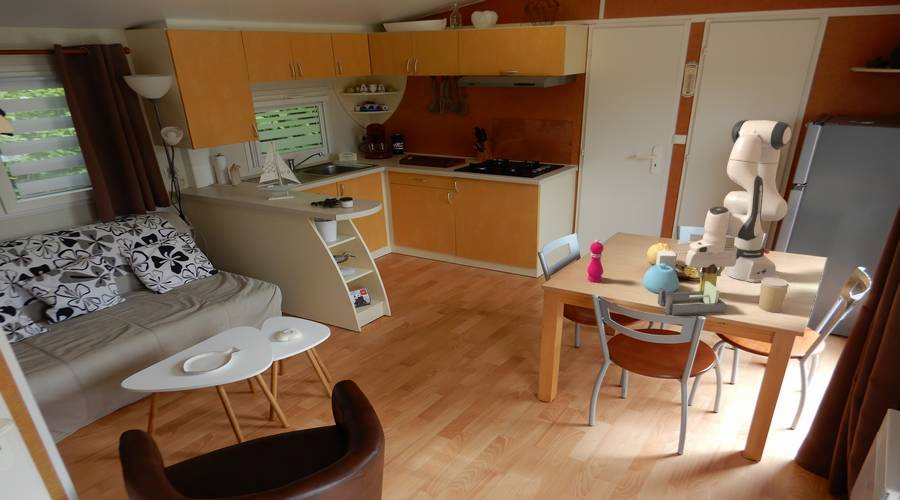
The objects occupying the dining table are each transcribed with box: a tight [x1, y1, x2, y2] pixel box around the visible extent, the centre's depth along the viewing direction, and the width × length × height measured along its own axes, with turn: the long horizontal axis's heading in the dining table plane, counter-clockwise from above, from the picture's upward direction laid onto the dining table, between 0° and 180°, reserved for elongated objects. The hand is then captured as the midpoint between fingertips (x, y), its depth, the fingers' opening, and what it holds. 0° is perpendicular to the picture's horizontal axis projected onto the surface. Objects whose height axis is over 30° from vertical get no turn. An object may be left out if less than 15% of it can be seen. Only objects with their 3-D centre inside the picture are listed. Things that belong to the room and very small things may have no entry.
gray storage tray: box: [657, 288, 727, 316], centre depth 211 cm, size 22×12×7 cm, turn 91°
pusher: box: [689, 281, 721, 304], centre depth 211 cm, size 9×9×9 cm
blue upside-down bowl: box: [642, 263, 680, 294], centre depth 229 cm, size 15×15×12 cm
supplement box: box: [656, 250, 677, 272], centre depth 239 cm, size 7×7×13 cm
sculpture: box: [646, 242, 673, 266], centre depth 256 cm, size 12×12×11 cm
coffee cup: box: [758, 277, 790, 314], centre depth 207 cm, size 9×9×12 cm
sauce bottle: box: [699, 264, 719, 291], centre depth 220 cm, size 7×6×20 cm
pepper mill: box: [586, 239, 605, 283], centre depth 239 cm, size 7×7×20 cm
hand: (708, 276), depth 221 cm, fingers open, 6 cm apart
